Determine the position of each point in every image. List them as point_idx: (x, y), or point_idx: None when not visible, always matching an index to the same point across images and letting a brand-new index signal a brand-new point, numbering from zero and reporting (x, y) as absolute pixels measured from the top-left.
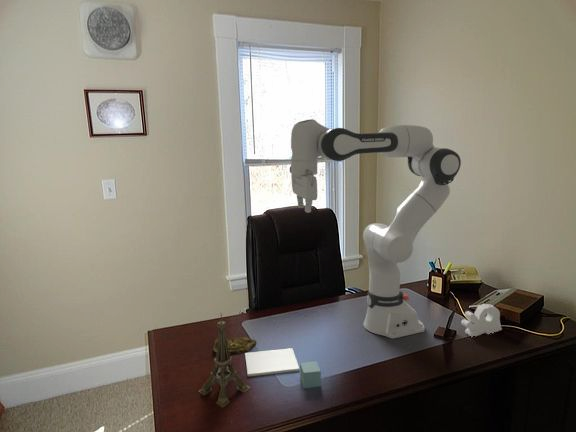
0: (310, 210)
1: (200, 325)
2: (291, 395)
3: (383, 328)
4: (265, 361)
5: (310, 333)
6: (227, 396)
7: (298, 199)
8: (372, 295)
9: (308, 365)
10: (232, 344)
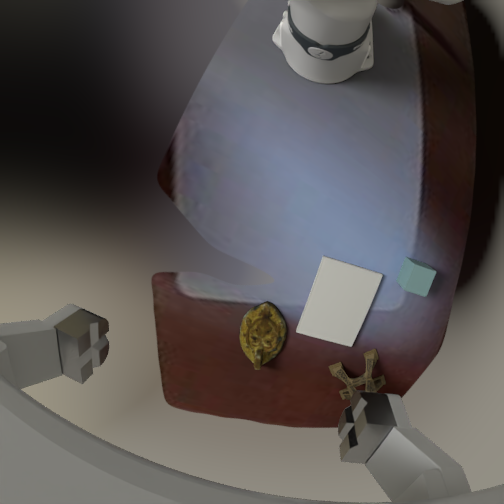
0: (400, 407)
1: (169, 353)
2: (418, 308)
3: (357, 66)
4: (336, 313)
5: (283, 192)
6: (381, 380)
7: (30, 377)
8: (337, 48)
9: (416, 281)
10: (266, 343)
